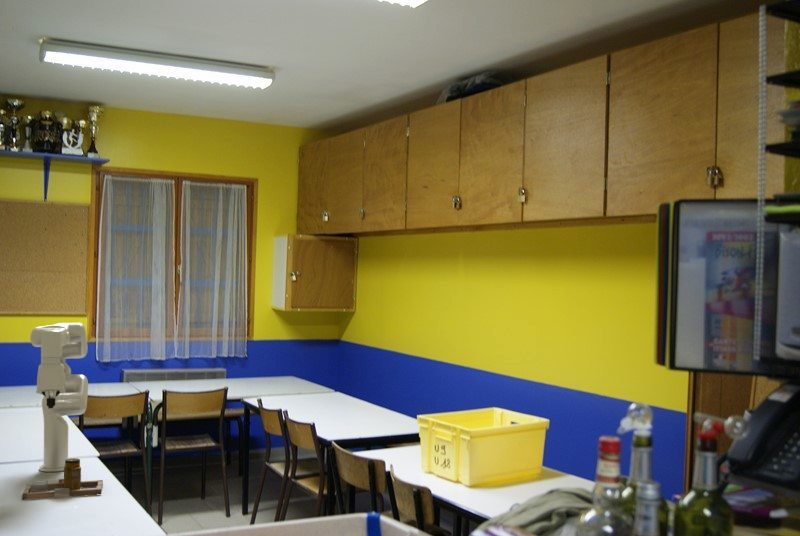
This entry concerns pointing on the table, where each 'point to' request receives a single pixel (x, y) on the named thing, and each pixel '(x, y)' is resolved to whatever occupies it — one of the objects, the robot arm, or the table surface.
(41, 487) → the frame
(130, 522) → the table surface
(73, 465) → the condiment
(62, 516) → the table surface
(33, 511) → the table surface
